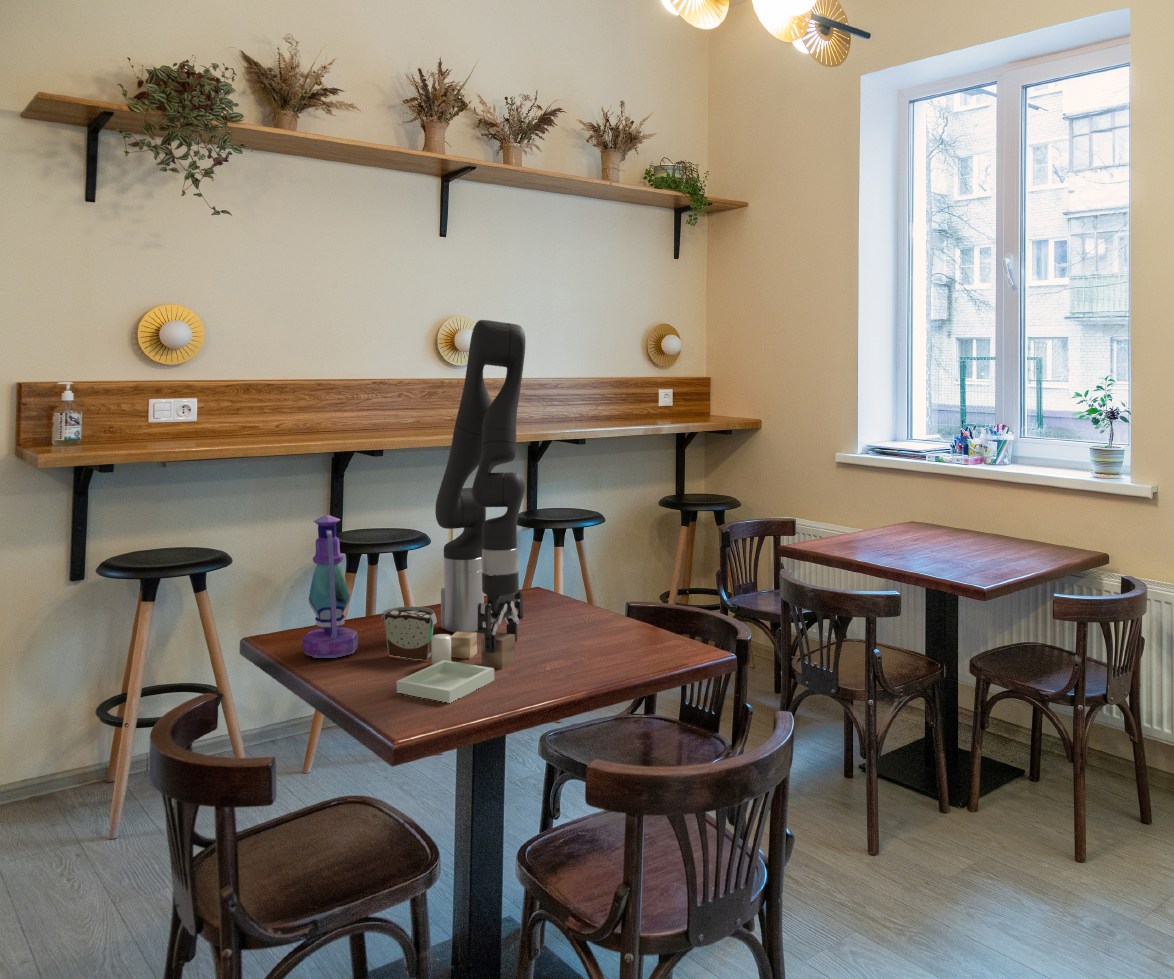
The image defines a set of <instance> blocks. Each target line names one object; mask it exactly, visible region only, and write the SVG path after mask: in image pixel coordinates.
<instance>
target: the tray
mask: <svg viewBox="0 0 1174 979" xmlns="http://www.w3.org/2000/svg"><path fill="white" fill-rule="evenodd" d="M494 681H495V668H494V667H488V666H482V665H476V664H472V663H471V664H470V663H465V662H457V661H452V660H451V661H446V660H443V661H440V662H438V663H436V664H434V665H432V664H431V665H430V666H427V667H426V668H423V669H420V670H418V671H416V672H414V673H411V674H410V675H408V676H406V677H403V678H401V679H398V680H396V694H397V693H404V694H408V695H413V696H417V697H422V698H421V699H423V698H429V699H433V700H438V701H437V702H439V701H442V702H441V703H444V702H447V703H446V704H449V703H450V704H452V703H454V702H456V701H457V699H458V698H460V699H461V698H464V697H465V696H467V695H469V694H471V693H472V692H475V691H477V690H478V688H479V689H480V688H483V687H485V686H486V685H488V684H490V683H491V682H494ZM476 689H477V690H476ZM417 697H416V698H417ZM433 700H432V701H433ZM455 700H456V701H455ZM458 700H459V699H458ZM453 701H454V702H453ZM451 702H452V703H451Z"/></svg>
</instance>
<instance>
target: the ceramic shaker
mask: <svg viewBox="0 0 1174 979" xmlns="http://www.w3.org/2000/svg"><path fill="white" fill-rule="evenodd" d="M451 636H452V635H451V634H447V633H438V634H433V636H432V637H431V645H432V651H431V665H434V664H436V663H438V662H440V661H443V660H446V661H452V658H451Z"/></svg>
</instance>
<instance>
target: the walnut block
mask: <svg viewBox="0 0 1174 979" xmlns="http://www.w3.org/2000/svg"><path fill="white" fill-rule="evenodd" d="M495 635H496V652H494V653H487V652H486V651H485V635H483V636H481V644H480V645H481V666H482V665H483V667H489V668H494V669H499V670H500V669H502V670H504V669H505V668H507V667H509V666H511V665H513V664H515V663H516V642H515V634H508V633H507V632H501V631H496V633H495ZM508 665H509V666H508Z"/></svg>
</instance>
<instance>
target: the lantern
mask: <svg viewBox="0 0 1174 979" xmlns="http://www.w3.org/2000/svg"><path fill="white" fill-rule="evenodd" d="M340 521H341V519H340V518H337V517H336V516H332V515H330V514H329V515H328V514H326V515H323V516H319V517H318V518H316V519H314V520H313V521H312V522H313V523H315V524H316V525H318V527H317V534H318V538H316V539H315V554H314V556H313V557H312V562H313V563H314V564H315V565H316V566H315V568H314V571H313V574H312V579H311V584H310V588H309V589H310V590H309V594H308V595H309V596H308V604H309V606H310V608H311V609H312V611H313V613H314V614H315V616H316V617H315V618H314V619H315V620H314V621H316V622H315V624H314V626H315V627H317V628H319V629H313V630H309V632H307V633H306V634H305V635H304V636H303V637H302V649H303V654H304V653H305V654H308V655H310V656H312V657H311V658H313V657H314V658H313V659H315V658H336V657H341V656H344V655H348V654H352V655H354V653H355V652H356V651H357V649H358V647H359V646H358V644H359V633H358V632H357V631H356V630H354V629H351V628H348V627H342V626H344V625H345V624H346V621H345V614H344V613H345V610H346V608H347V607H348V605H349V602H350V599H351V595H350V591H349V587H348V584H347V580H346V576H345V573H344V570H343V567H342V565H341V562H342V561H343V560H344V556H343V554H342V553H341V549H340V547H341V546H340V541H341V540H340V539H339V537H337V525H336V524H337V523H339V522H340ZM355 650H356V651H355ZM305 654H304V655H305ZM308 655H307V656H308ZM310 656H309V657H310ZM341 658H342V657H341ZM336 659H337V658H336Z"/></svg>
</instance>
